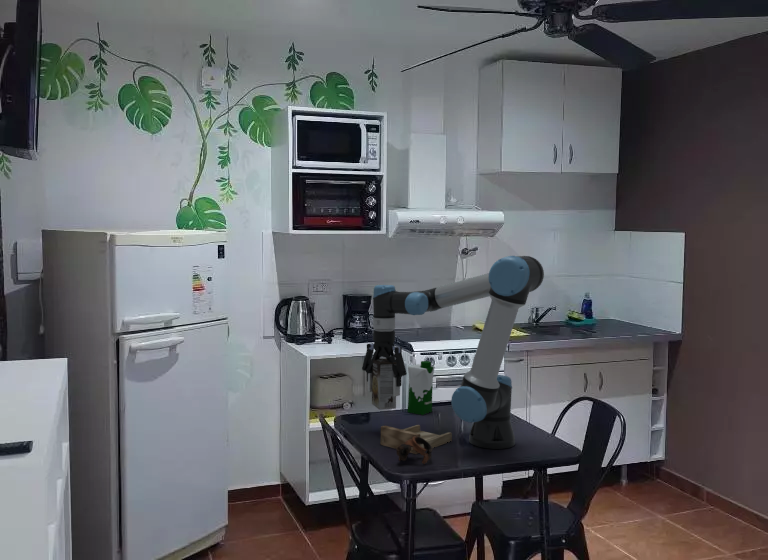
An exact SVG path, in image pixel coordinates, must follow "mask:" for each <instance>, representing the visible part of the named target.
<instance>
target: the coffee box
mask: <svg viewBox="0 0 768 560" xmlns="http://www.w3.org/2000/svg"><path fill="white" fill-rule="evenodd" d="M393 364H394V365H396V362H394V363H393ZM393 377H395V374H394V372H393V370H392V363H391V362H389V361H388V360H387V359H386V358H385V357H380V358H379V359H376V360H373V365H372V392H371V404H372V405H373V406H374V407H375V408H377V409H378V410H381V411H382V410H393V409H396V408H397V396H395V397H394V396H393Z"/></svg>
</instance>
